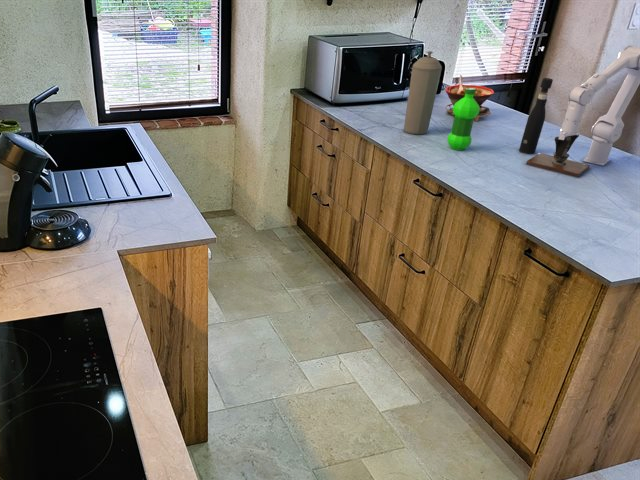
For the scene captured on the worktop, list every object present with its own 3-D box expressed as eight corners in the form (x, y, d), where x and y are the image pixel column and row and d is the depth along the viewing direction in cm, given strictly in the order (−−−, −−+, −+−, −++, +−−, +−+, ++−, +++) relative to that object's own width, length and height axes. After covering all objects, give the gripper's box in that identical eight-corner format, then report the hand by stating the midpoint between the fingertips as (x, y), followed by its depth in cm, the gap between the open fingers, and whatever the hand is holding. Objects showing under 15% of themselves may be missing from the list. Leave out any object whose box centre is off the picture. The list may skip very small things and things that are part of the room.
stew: (436, 104, 315) (443, 73, 306) (483, 107, 312) (490, 75, 304) (444, 119, 292) (451, 86, 283) (495, 122, 289) (503, 88, 280)
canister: (399, 133, 272) (412, 52, 253) (403, 126, 282) (417, 47, 263) (427, 137, 268) (443, 55, 249) (431, 129, 278) (446, 50, 259)
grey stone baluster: (568, 166, 235) (578, 136, 229) (552, 164, 236) (562, 135, 230) (564, 161, 240) (574, 131, 234) (549, 159, 241) (558, 130, 235)
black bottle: (535, 150, 255) (556, 78, 239) (534, 155, 250) (556, 81, 234) (519, 148, 257) (539, 76, 241) (518, 152, 252) (538, 79, 236)
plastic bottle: (473, 148, 256) (487, 88, 243) (462, 154, 250) (476, 93, 236) (452, 142, 262) (464, 84, 248) (441, 148, 255) (453, 88, 242)
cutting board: (539, 156, 249) (540, 152, 248) (589, 168, 238) (590, 165, 237) (526, 164, 241) (527, 160, 240) (577, 177, 229) (578, 173, 228)
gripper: (577, 125, 222) (565, 160, 229) (589, 118, 231) (578, 151, 238) (557, 121, 226) (547, 156, 233) (571, 114, 235) (560, 147, 242)
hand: (561, 153), depth 236 cm, fingers open, 7 cm apart
